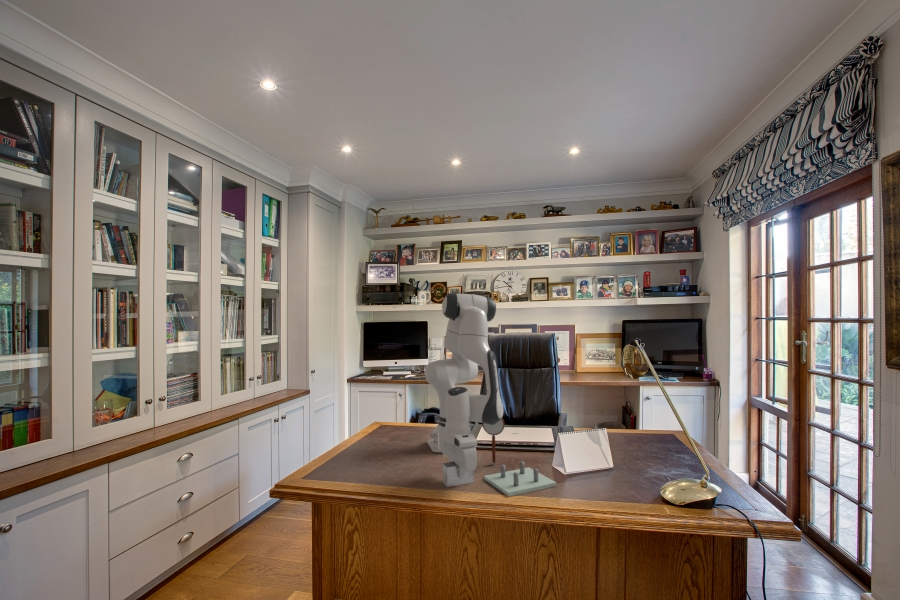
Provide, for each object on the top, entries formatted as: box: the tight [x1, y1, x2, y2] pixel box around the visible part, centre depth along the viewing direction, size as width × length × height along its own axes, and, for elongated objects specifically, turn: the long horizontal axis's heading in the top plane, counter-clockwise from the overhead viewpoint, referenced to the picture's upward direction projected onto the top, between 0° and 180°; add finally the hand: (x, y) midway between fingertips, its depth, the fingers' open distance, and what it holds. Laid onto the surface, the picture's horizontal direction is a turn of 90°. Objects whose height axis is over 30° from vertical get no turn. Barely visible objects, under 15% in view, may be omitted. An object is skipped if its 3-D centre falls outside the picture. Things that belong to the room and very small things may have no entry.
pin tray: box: [483, 460, 557, 497], centre depth 145 cm, size 16×19×5 cm
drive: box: [442, 461, 475, 488], centre depth 145 cm, size 4×10×7 cm, turn 114°
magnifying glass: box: [481, 417, 505, 466], centre depth 163 cm, size 9×2×20 cm, turn 74°
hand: (458, 475), depth 145 cm, fingers closed on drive, 3 cm apart
